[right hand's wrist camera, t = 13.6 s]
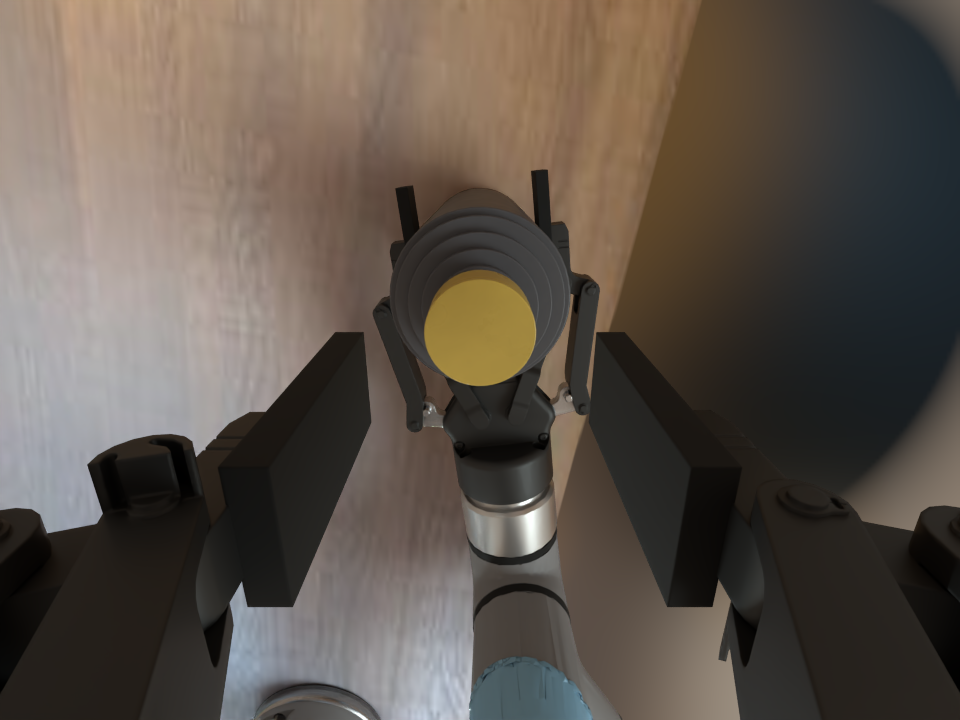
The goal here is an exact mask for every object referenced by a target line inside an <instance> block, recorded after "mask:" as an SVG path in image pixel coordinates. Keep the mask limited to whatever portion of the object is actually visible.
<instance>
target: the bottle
mask: <svg viewBox="0 0 960 720" xmlns="http://www.w3.org/2000/svg"><path fill="white" fill-rule="evenodd" d="M472 270H489V271H494V272H497V273H500V274H502V275H504V276H506V277H508V278H509V279H511V280H512V281H514V282H515V283H516V284H517V285H518V286H519V287H520V289H521V290H522V291H523V293H524V294H525V296H526V298H527V300H528V302H529V305H530V308H531V310H532V313H533V316H534V320H535V324H536V340H535V345H534V349H533V351H532V354H531V356H530V358H529V359H528V361H527V362H526V364H525V365H524V366H523V367H522V368H521V369H520V370H519V371H518V372H517V373H516V374H515V375H513V376H512V377H514V376H517V375H519V374H521V373H523V372H525V371H527V370H528V369H530V368H532V367H533V366H534V365H536V364H537V363H538V362H540V361H541V360H542V359H543V358H544V357H545V356H546V355H547V354H548V353H549V351H550V350H551V349H552V348H553V346H554V345H555V343H556V342H557V340H558V339H559V337H560V335H561V333H562V331H563V329H564V326H565V324H566V320H567V317H568V313H569V307H570V283H569V277H568V273H567V269H566V266H565V264H564V261H563V259H562V257H561V255H560V253H559V251H558V250H557V248H556V246H555V245H554V244H553V242H552V241H551V240H550V238H549V237H548V236H547V235H546V234H545V233H544V232H543V231H542V230H541V229H540V228H539V227H538V226H537V225H536V224H535V223H534V222H533V221H532V220H531V219H530V218H529V217H528V216H527V215H526V214H525V212H524V211H523V210H522V209H521V208H520V207H519V206H518V205H517V204H516V203H515V202H514V201H513V200H511V199H510V198H509V197H507V196H506V195H504V194H502V193H500V192H497V191H495V190H491V189H484V188H475V189H469V190H466V191H462V192H460V193H458V194H456V195H454V196H453V197H451V198H450V199H449V200H448V201H446V202H445V203H444V204H443V205H442V206H441V207H440V208H439V209H438V210H437V211H436V212H435V214H434V215H433V216H432V217H431V218H430V219H429V220H428V221H427V222H426V223H425V224H424V225H423V226H422V227H421V228H420V229H419V230H418V231H417V232H416V233H415V234H414V235H413V237H412V238H411V239H410V240H409V241H408V242H407V244H406V245H405V247H404V248H403V250H402V251H401V253H400V255H399V257H398V259H397V262H396V264H395V267H394V270H393V273H392V278H391V284H390V305H391V312H392V316H393V320H394V323H395V326H396V328H397V331H398V333H399V335H400V336H401V338H402V340H403V342H404V343H405V345H406V346H407V347H408V349H409V350H410V351H411V352H412V353H413V354H414V356H415V357H416V358H417V359H419V360H420V361H421V362H422V363H423V364H424V365H426V366H427V367H429V368H430V369H432V370H433V371H435V372H437V373H439V374H441V375H443V376H445V377H448V378H450V377H449V376H447V375H446V374H444V373H443V372H442V371H441V370H440V369H439V368H438V367H437V366H436V365H435V363H434V362H433V361H432V359H431V357H430V355H429V353H428V351H427V348H426V344H425V339H424V326H425V321H426V317H427V314H428V311H429V309H430V306H431V303H432V300H433V298H434V296H435V294H436V293H437V292H438V290H439V289H440V288H441V287H442V286H443V284H444V283H446V282H447V281H448V280H449V279H451V278H453V277H454V276H456V275H458V274H460V273H463V272H467V271H472ZM512 377H510V378H512ZM451 379H452V378H451ZM508 379H509V378H508Z"/></svg>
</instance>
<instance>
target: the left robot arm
mask: <svg viewBox="0 0 960 720" xmlns="http://www.w3.org/2000/svg"><path fill="white" fill-rule="evenodd" d="M531 175H532V189H533V202H534V216H535V224H536V225H537V226H538V227H539V228H540V229H541V230H542V231H543V232H544V233H545V234H546V235H547V236H548V237H549V238H550V240H551V241H552V242H553V244H554V245H555V246H556V248H557V250H558V251H559V253H560V255H561V257H562V259H563V261H564V264H565V266H566V269H567V273H568V277H569V283H570V294H574V297H573V305H572V314H571V322H570V330H569V338H568V346H567V354H566V363H565V379H566V382H563V383H561V384H560V385H559V387H558V393H557V396H556V397H555V398H553V399H550V398H549V397H548V396H547V395H546V394H545V393H544V392H543V391H542V390H541V389H540V388H539V387H538V386H537V383H538V380H539V377H540V373H541V367H542V365H543V362H544V359H545V357H546V356H545V357H544V358H543V359H542V360H541V361H540V362H538V363H537V364H536V365H534V366H533V367H532V368H530V369H528V370H527V371H525V372H523V373H521V374H519V375H517V376H514V377H512V378H509V379H507V380H505V381H502V382H500V383H496V384H493V385H487V386H474V385H468V384H464V383H461V382H458V381H456V380H454V379H451V378H448V377H445V378H446V380H447V382H448V385H449V387H450V389H451V390H452V392H453V393H454V396H453V397H452V399H451V401H450V402H449V404H448V406H447V407H446V409H445V410H441V409H439V408H438V407H437V405H436V401H435V400H434V399H433V398H432V397H430V396H426V387H425V383H424V380H423V377H422V374H421V372H420V369H419V366H418V363H417V361H416V358H415V356H414V354H413V353H412V352H411V351H410V350H409V349H408V347H407V346H406V345H405V343H404V342H403V340H402V338H401V336H400V335H399V333H398V331H397V328H396V326H395V323H394V320H393V316H392V312H391V305H390V296H388V297H384V298H382V299H381V301H380V302H379V303H378V305H377V306H376V307H375V309H374V310H373V317H374V319H375V322H376V325H377V327H378V330H379V332H380V335H381V338H382V340H383V343H384V346H385V348H386V351H387V353H388V356H389V359H390V361H391V364H392V367H393V369H394V372H395V374H396V377H397V380H398V382H399V385H400V388H401V390H402V393H403V395H404V398H405V401H406V403H407V428H408V429H409V430H410V431H411V432H419V431H420V430H421V429H422V427H423V426H430V427H443V428H444V430H445V432H446V433H447V434H448V435H449V437H450V438H451V440H452V444H453V450H454V456H455V463H456V469H457V476H458V482H459V486H460V488H461V493H460V496H461V502H462V508H463V514H464V520H465V526H466V531H467V538H468V542H469V549H470V557H471V565H472V574H473V631H474V642H473V665H472V688H471V697H470V698H471V701H470V704H469V709H470V720H623V719H622V718H621V716H620V715H619V714H618V712H617V711H616V709H615V708H614V707H613V705H612V704H611V703H610V701H609V700H608V699H607V697H606V696H605V695H604V693H603V692H602V691H601V690H600V688H599V687H598V686H597V684H596V683H595V682H594V680H593V679H592V678H591V676H590V675H589V674H588V673H587V671H586V670H585V669H584V667H583V666H582V664H581V662H580V659H579V657H578V654H577V650H576V646H575V642H574V637H573V633H572V629H571V622H570V616H569V612H568V607H567V602H566V597H565V592H564V587H563V582H562V576H561V569H560V559H559V550H558V541H557V516H556V504H555V492H554V482H553V480H552V477H553V466H552V452H551V439H550V429H551V426H552V424H553V422H554V420H555V416H557V415H561V414H565V413H568V412H572V411H576V413H578V414H579V415H586V414H588V413H589V412H590V398H589V394H588V390H587V386H586V385H587V378H588V371H589V363H590V356H591V349H592V342H593V335H594V328H595V321H596V314H597V306H598V299H599V292H600V288H599V286H598V284H597V283H596V282H595V281H594V280H593V279H592V278H591V277H590V276H588V275H585V274H584V275H581V274H577V273H574V272H572V271H571V268H570V253H569V234H568V229H567V227H566V225H565V223H563V222H562V221H561V222H552V223H551V215H550V199H549V183H548V170H535V171H531ZM395 189H396V195H397V201H398V207H399V213H400V219H401V225H402V231H403V237H404V240H400V241H394V242H393V243H392V244H391V249H390V256H391V260H392V266H393V270H394V267H395V264H396V262H397V259H398V257H399V255H400V253H401V251H402V250H403V248H404V247H405V245H406V244H407V242H408V241H409V240H410V239H411V238H412V237H413V235H414V234H415V233H416V232H417V231H418V230H419V222H418V216H417V209H416V203H415V196H414V190H413V186H405V187H399V188H395ZM252 720H381V719H380V718H379V716H378V714H377V713H376V712H375V710H374V709H373V708H372V707H371V706H370V705H369V704H367V703H366V702H365V701H363V700H362V699H360V698H359V697H357V696H355V695H353V694H351V693H349V692H346V691H344V690H341V689H337V688H333V687H328V686H320V685H304V686H296V687H291V688H288V689H284V690H282V691H279V692H277V693H275V694H273V695H272V696H270V697H269V698H268V699H266V700H265V701H264V702H263V703H262V704H261V706H260V707H259V709H258V711H257V713H256V715H255V717H254V719H252Z"/></svg>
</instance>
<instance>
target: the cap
mask: <svg viewBox="0 0 960 720" xmlns="http://www.w3.org/2000/svg"><path fill="white" fill-rule="evenodd" d="M424 339H425V344H426V348H427V351H428V353H429V355H430V357H431V359H432V361H433V362H434V363H435V365H436V366H437V367H438V368H439V369H440V370H441V371H442V372H443V373H444V374H446V375H447V376H449V377H450V378H452V379H454V380H456V381H458V382H461V383H464V384H468V385H474V386H487V385H493V384H496V383H500V382H502V381H505V380H507V379H508V378H510V377H512V376H513V375H515V374H516V373H517V372H518V371H519V370H520V369H521V368H522V367H523V366H524V365H525V364H526V362H527V361H528V359H529V358H530V356H531V354H532V351H533V349H534V345H535V340H536V324H535V320H534V316H533V313H532V310H531V308H530V305H529V302H528V300H527V298H526V296H525V294H524V293H523V291H522V290H521V289H520V287H519V286H518V285H517V284H516V283H515V282H514V281H512V280H511V279H509V278H508V277H506V276H504V275H502V274H500V273H497V272H494V271H489V270H472V271H467V272H463V273H460V274H458V275H456V276H454V277H453V278H451V279H449V280H448V281H447V282H446V283H444V284H443V286H442V287H441V288H440V289H439V290H438V292H437V293H436V294H435V296H434V298H433V300H432V303H431V306H430V309H429V311H428V314H427V317H426V321H425V326H424Z"/></svg>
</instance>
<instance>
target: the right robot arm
mask: <svg viewBox="0 0 960 720" xmlns="http://www.w3.org/2000/svg"><path fill="white" fill-rule="evenodd" d="M370 424H371V413H370V402H369V390H368V378H367V367H366V355H365V344H364V332H335V333H334V334H333V336H332V337H331V338H330V339H329V340H328V341H327V342H326V344H325V345H324V346H323V347H322V348H321V349H320V350H319V352H318V353H317V354H316V355H315V356H314V357H313V359H312V360H311V361H310V362H309V363H308V364H307V365H306V367H305V368H304V369H303V370H302V371H301V372H300V373H299V375H298V376H297V377H296V378H295V379H294V380H293V381H292V383H291V384H290V385H289V386H288V387H287V388H286V389H285V391H284V392H283V393H282V394H281V395H280V396H279V397H278V399H277V400H276V401H275V402H274V403H273V404H272V405H271V407H270V408H269V409H268V410H267V411H266V412H249V413H247V414H245V415H244V416H242V417H240V418H238V419H236V420H235V421H233V422H231V423H229V424H228V425H227V426H226V427H225V428H224V429H223V430H222V431H221V432H220V433H219V434H218V436H217V438H216V439H214V440H213V441H212V442H211V443H210V444H209V445H208V446H207V447H206V450H203V451H202V452H201V453H200V454H199V455H198V456H197V457H196V456H195V451H194V447H193V443H192V441H191V440H189V439H188V438H186V437H185V436H179V435H173V434H164V435H152V436H147V437H142V438H137V439H133V440H130V441H127V442H124V443H122V444H119V445H116V446H114V447H112V448H110V449H108V450H106V451H104V452H102V453H101V454H99V455H97V456H96V457H95V458H94V459H93V460H92V461H91V462H90V463H89V464H87V465H88V469H89V472H90V475H91V478H92V481H93V484H94V487H95V490H96V494H97V497H98V500H99V503H100V506H101V509H102V512H103V514H102V516H101V518H100V520H99V521H98V523H97V524H94V525H89V526H84V527H79V528H74V529H68V530H63V531H58V532H53V533H47V532H46V529H45V527H44V524H43V521H42V519H41V516H40V514H38V513H36V512H35V511H33V510H32V509H21V508H13V509H6V510H0V720H220V715H221V708H222V701H223V694H224V688H225V681H226V674H227V667H228V660H229V653H230V646H231V639H232V633H233V626H234V625H233V617H232V612H231V607H230V603H229V602H230V601H231V599H232V597H233V595H234V594H235V592H236V590H237V588H238V587H239V585H240V583H241V582H242V583H243V588H244V593H245V597H246V602H247V607H293V605H294V603H295V601H296V598H297V596H298V594H299V591H300V589H301V587H302V584H303V582H304V579H305V577H306V575H307V572H308V570H309V568H310V565H311V563H312V561H313V558H314V556H315V554H316V551H317V549H318V547H319V544H320V542H321V539H322V537H323V535H324V532H325V530H326V528H327V525H328V523H329V521H330V518H331V516H332V514H333V511H334V509H335V507H336V504H337V502H338V499H339V497H340V495H341V492H342V490H343V488H344V485H345V483H346V481H347V478H348V476H349V474H350V471H351V469H352V467H353V464H354V462H355V459H356V457H357V455H358V452H359V450H360V448H361V445H362V443H363V441H364V438H365V436H366V434H367V431H368V429H369V427H370ZM589 424H590V426H591V429H592V431H593V433H594V436H595V438H596V441H597V443H598V445H599V448H600V450H601V452H602V455H603V457H604V459H605V462H606V464H607V467H608V469H609V471H610V474H611V476H612V478H613V480H614V483H615V485H616V488H617V490H618V492H619V495H620V497H621V499H622V502H623V504H624V507H625V509H626V511H627V514H628V516H629V518H630V521H631V523H632V525H633V528H634V530H635V532H636V535H637V537H638V539H639V542H640V544H641V547H642V549H643V551H644V554H645V556H646V558H647V561H648V563H649V565H650V568H651V570H652V572H653V575H654V577H655V579H656V582H657V584H658V587H659V589H660V591H661V594H662V596H663V598H664V601H665V603H666V605H667V607H712V606H713V602H714V597H715V593H716V588H717V583H718V579H719V581H720V582H721V584H722V586H723V587H724V589H725V591H726V593H727V594H728V596H729V598H730V600H731V603H730V607H729V612H728V616H727V620H726V625H725V629H724V633H723V638H722V642H721V646H720V652H719V660H723V661H726V659H727V655H728V651H729V650H730V652H731V659H732V665H733V672H734V679H735V686H736V693H737V700H738V707H739V714H740V720H960V508H958V507H951V506H934V507H928V508H927V509H925V510H924V511H922V512H921V514H920V516H919V519H918V521H917V524H916V527H915V529H914V531H910V530H905V529H899V528H894V527H889V526H884V525H878V524H873V523H868V522H863V521H862V520H861V519H860V517H859V515H858V513H857V512H856V511H855V510H854V509H853V508H852V506H851V505H850V504H849V503H848V502H847V501H845V500H844V499H842V498H841V497H839V496H837V495H836V494H834V493H833V492H831V491H828V490H826V489H823V488H821V487H819V486H816V485H814V484H810V483H806V482H802V481H798V480H790V479H787V478H786V477H785V476H784V475H783V474H782V473H781V472H780V471H779V470H778V469H777V468H776V467H775V466H774V465H773V464H772V463H771V462H770V461H769V460H768V459H767V458H766V457H765V456H764V455H763V454H762V453H761V452H760V451H759V450H758V449H755V445H754V444H753V443H752V442H751V441H750V440H749V439H748V438H747V437H744V434H743V433H742V432H741V431H740V430H739V429H738V428H737V427H736V426H735V425H734V424H733V423H732V422H731V421H729V420H727V419H725V418H724V417H722V416H720V415H718V414H716V413H714V412H713V411H711V410H692V409H691V408H690V407H689V406H688V404H687V403H686V402H685V401H684V400H683V399H682V397H681V396H680V395H679V394H678V393H677V392H676V391H675V389H674V388H673V387H672V386H671V385H670V384H669V383H668V381H667V380H666V379H665V378H664V377H663V376H662V375H661V373H660V372H659V371H658V370H657V369H656V368H655V367H654V365H653V364H652V363H651V362H650V361H649V360H648V359H647V357H646V356H645V355H644V354H643V353H642V352H641V351H640V349H639V348H638V347H637V346H636V345H635V344H634V342H633V341H632V340H631V339H630V338H629V337H628V336H627V334H626V333H625V332H596V344H595V355H594V367H593V378H592V390H591V402H590V413H589Z"/></svg>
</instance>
